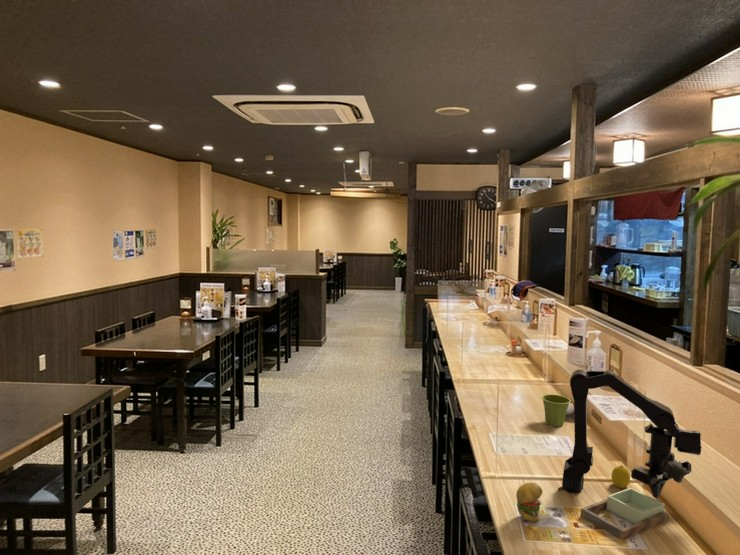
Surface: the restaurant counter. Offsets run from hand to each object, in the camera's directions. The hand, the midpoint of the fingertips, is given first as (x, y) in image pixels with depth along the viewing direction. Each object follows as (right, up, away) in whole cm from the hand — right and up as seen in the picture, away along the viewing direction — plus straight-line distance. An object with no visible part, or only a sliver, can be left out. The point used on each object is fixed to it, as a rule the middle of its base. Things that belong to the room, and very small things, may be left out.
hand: (655, 497), depth 171 cm
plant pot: (-8, +4, +71) cm, 71 cm away
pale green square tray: (-9, -3, -5) cm, 11 cm away
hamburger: (-41, -4, -8) cm, 42 cm away
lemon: (-5, -3, +13) cm, 14 cm away
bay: (-13, -4, -8) cm, 16 cm away
